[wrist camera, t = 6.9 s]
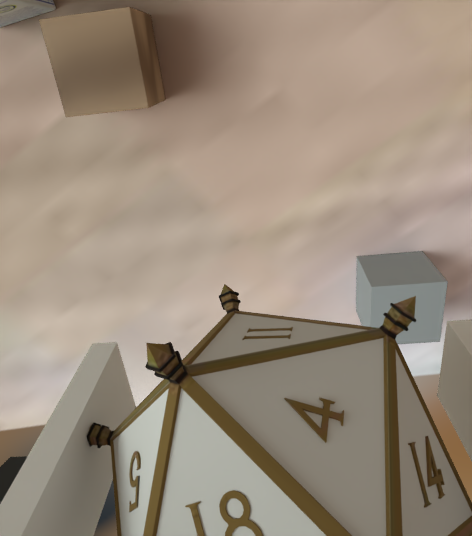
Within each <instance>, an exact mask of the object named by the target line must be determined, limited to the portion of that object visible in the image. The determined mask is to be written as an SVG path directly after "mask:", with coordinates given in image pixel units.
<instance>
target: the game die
mask: <svg viewBox="0 0 472 536" xmlns="http://www.w3.org/2000/svg"><path fill="white" fill-rule="evenodd" d="M238 295H239V293H237V292H234V291H233V290H232V289H230V288H229V287H228V286H226V285H225V284H224V287H223V290H222V293H221V295H219V298H220V301H221V302H222V303H221V305H222V307H223V310H226V312H227V314H226V315H225V316H224V317H223V319H222V320H221V321H220V322H219V323H218V324H217V325H216V326H215V327H214V328H213V329H212V330H211V331H210V332H209V333H208V334H207V335H206V336H205V337H204V338H203V339H202V340H201V341H200V342H199V343H198V344H197V345H196V346H195V348H194V349H193V350H192V351H191V352H190V353H189V354H188V355H187V356H186V357H185V358H184V359H183V360H181V357H180V354H179V352H178V351H176V352H175V351H174V349H173V346H172V343H171V342H169V343H167V344H152V343H147V357H148V362H147V364H146V368H147V369H149V370H153V371H155V374H154V375H156V376H157V377H161V378H164V380H163V381H162V382H161V383H160V384H159V385H158V386H157V387H156V388H155V389H154V390H153V391H152V392H151V393H150V394H149V395H148V396H147V397H146V398H145V399H144V400H143V401H142V402H141V403H140V404H139V406H138V407H137V408H136V409H135V410H134V411H133V412H132V413H131V414H130V415H129V416H128V417H127V418H126V419H125V420H124V421H123V422H122V423H121V424H120V425H119V426H118V427H117V428H116V429H115V430H114V431H111V430H110V429H109V427H108V426H105V425H102V426H101V425H100V424H97V423H94V422H93V424H92V425H91V426H90V429H89V432H88V435H87V440H88V443H89V445H90V447H91V446H92V445H97V448H100V447H101V446H104V445H109V446H111V457H112V470H113V483H114V496H115V508H116V520H117V534H118V536H472V502H471V500H470V498H469V496H468V494H467V492H466V490H465V488H464V485H463V483H462V481H461V479H460V477H459V475H458V472H457V470H456V468H455V466H454V464H453V462H452V460H451V458H450V456H449V453H448V451H447V449H446V447H445V445H444V443H443V440H442V438H441V436H440V434H439V432H438V430H437V428H436V425H435V424H434V421H433V419H432V417H431V415H430V413H429V411H428V408H427V406H426V404H425V402H424V400H423V398H422V396H421V394H420V391H419V389H418V387H417V385H416V383H415V381H414V378H413V376H412V374H411V372H410V370H409V368H408V366H407V364H406V361H405V359H404V357H403V355H402V353H401V351H400V349H399V346H398V344H397V342H396V340H395V339H396V336H397V335H398V334H399V333H401V332H402V331H404V330H405V331H408V326H409V324H410V323H411V322H412V321H413V322H416V321H417V320H416V319H415V318H414V316H415V302H416V296H414V297H411V298H409V299H406V300H403V301H401V302H398V303H395V304H393V303H391V304H390V306H392V307H391V308H390V310H389V311H388V313H384V314H383V315H384V316H385V319H384V322H383V325H382V326H381V327H379V328H376V327H367V326H359V325H351V324H342V323H334V322H326V321H317V320H309V319H301V318H292V317H284V316H276V315H268V314H259V313H251V312H243V311H239V309H238V306H239V303H240V300H238V297H237V296H238Z"/></svg>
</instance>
